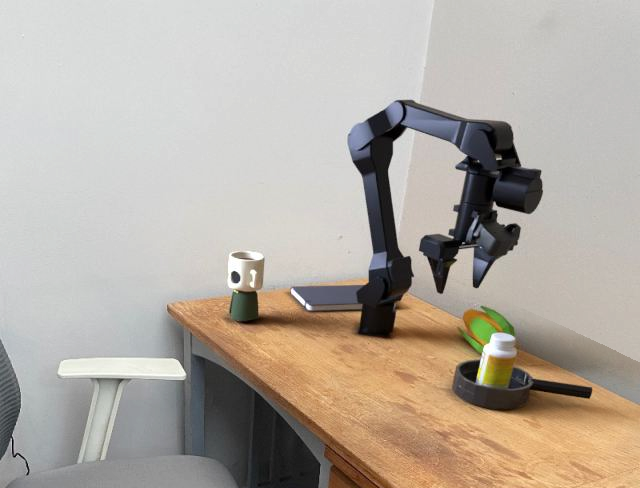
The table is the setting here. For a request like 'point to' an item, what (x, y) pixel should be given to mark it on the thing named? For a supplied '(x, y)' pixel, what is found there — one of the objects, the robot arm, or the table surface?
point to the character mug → (245, 284)
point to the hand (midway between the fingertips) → (457, 290)
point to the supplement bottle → (497, 361)
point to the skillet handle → (562, 388)
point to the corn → (484, 327)
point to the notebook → (328, 297)
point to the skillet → (491, 388)
